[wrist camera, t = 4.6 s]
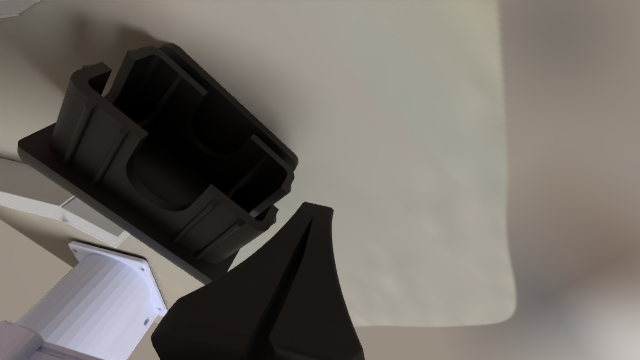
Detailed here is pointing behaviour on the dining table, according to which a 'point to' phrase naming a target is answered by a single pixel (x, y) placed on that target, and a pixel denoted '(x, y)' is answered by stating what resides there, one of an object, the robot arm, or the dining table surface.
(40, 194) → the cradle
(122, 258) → the robot arm
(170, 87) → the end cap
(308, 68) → the dining table surface
